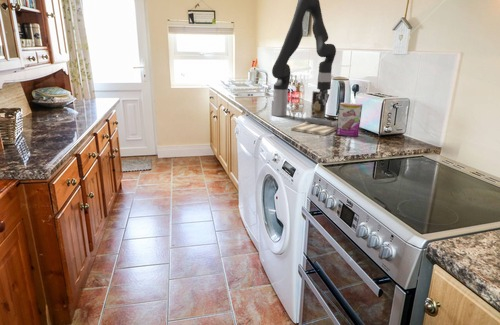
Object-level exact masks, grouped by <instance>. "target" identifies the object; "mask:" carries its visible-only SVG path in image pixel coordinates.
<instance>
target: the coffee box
mask: <svg viewBox="0 0 500 325" xmlns="http://www.w3.org/2000/svg"><path fill="white" fill-rule="evenodd" d="M319 92H320V91H315V90H314V91H312V92H311V94H312V95H311V104H310V113H309V114H310V118H318V117H321V118H322V119H325V118H326V110H327V103H326V104H325V111H320V104H319V103H318V99H317V96H319ZM324 117H325V118H324ZM321 118H320V119H321Z"/></svg>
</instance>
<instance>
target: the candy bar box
mask: <svg viewBox="0 0 500 325" xmlns="http://www.w3.org/2000/svg"><path fill="white" fill-rule="evenodd" d="M338 106H339V107H338V116H337V129H336V130H335V131H336V134H335V135H336V136H341V137H342V136H345V137H353V138H358V137H359V132H360V127H361V126H360V124H361V119H362V118H361V117H362V111H363V110H362V109H363V104H362V103H352V102H351V103H349V102H340V103H339V105H338Z"/></svg>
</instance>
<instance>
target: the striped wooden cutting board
mask: <svg viewBox="0 0 500 325" xmlns="http://www.w3.org/2000/svg"><path fill="white" fill-rule="evenodd" d="M290 130H291V132H292V131H293V132H298V131H300V132H299V133H304V132H306V134H311V133H312V134H311V135H317V134H318V136H326V135H328V134H330V133H332V132H334V131H337V126H332V125H325V124H318V123H311V122H305V121H304V122H303V123H300V124H297V125H295V126H292V127H290Z"/></svg>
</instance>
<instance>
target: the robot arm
mask: <svg viewBox="0 0 500 325" xmlns="http://www.w3.org/2000/svg"><path fill="white" fill-rule="evenodd" d="M306 12H307V13H309V14H310V15H311V17H312V33H313V36H314V39H315V45H316V47H315V48H316V53H317V56H319V57H320V58H324V60H323V61H321V62H319V64H318V65H319V66H318V75H317V85H316V89H317V90H319V91H318V92H319V96H317V99H318V103H319V104H320V111H325V104H326V105H327V103H328V100H329V96H330V94H329V91H330V90H331V88H332V87H331V86H332V68H333V63H334V60H335V57H336V54H337V47H336V46H335V45H334V44H333V43H326V42H328V40H329V34H328V32H327V29H326V26H325V24H324V20H323V14H322V9H321V3H320V0H298V1H297V4H296V6H295V11H294V14H293V17H292V20H291V22H290V26H289V28H288V31H287V33H286V36H285V38H284V42H283V44H282V45H281V49H280V51H279V54H278V56H277V59H276V61H275V62H274V64H273V66H272V69H271V75H272V77H273V78H275V79H276V82H275V83H274V84H273V98H272V100H271V112H270V113H271V114H270V115H271V116H274V117H286V116H287V114H288V113H287V110H288V96H289V93H288V92H289V85H290V81H291V67H290V65H289V64H288V62H289V60H290V59H291V57H292V56H293V54H294V53H295V52H296V50H297V49H298V48H299V45H300V44H301V41H302V39H303V34H304V28H303V22H304V17H305V15H306ZM328 90H329V91H328ZM325 112H326V111H325Z"/></svg>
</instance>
